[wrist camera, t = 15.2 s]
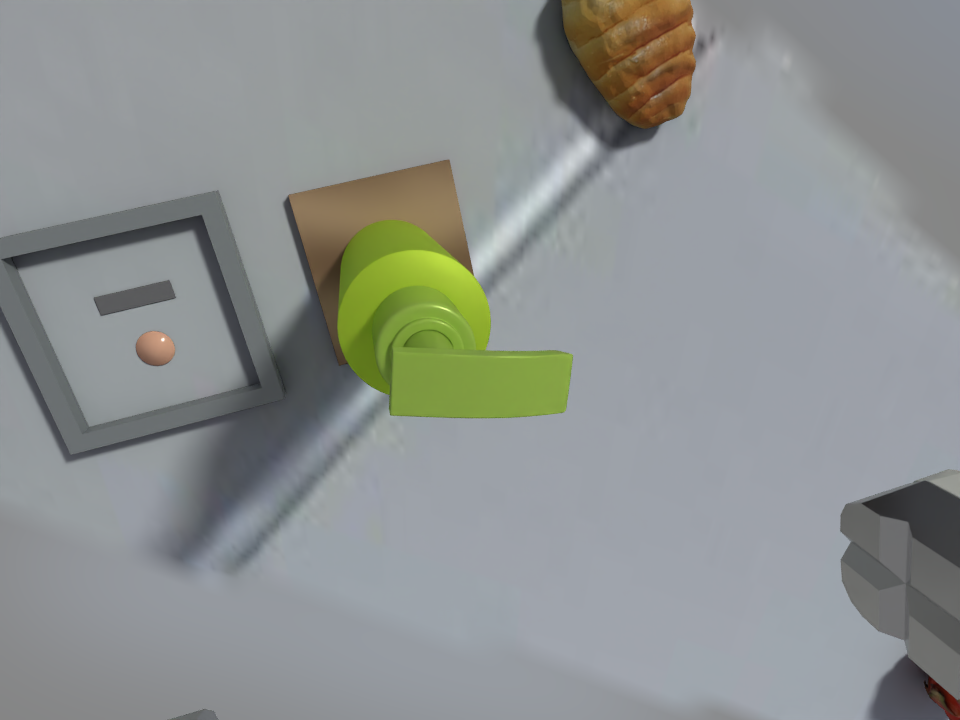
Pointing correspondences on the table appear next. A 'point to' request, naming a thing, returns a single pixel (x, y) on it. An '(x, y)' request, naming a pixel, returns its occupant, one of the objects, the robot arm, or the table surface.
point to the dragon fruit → (943, 699)
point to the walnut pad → (361, 202)
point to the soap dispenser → (434, 333)
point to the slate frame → (152, 347)
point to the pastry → (635, 54)
